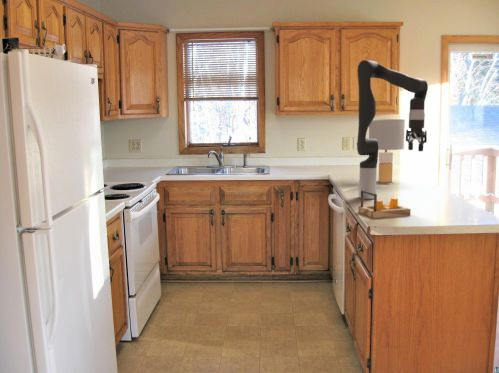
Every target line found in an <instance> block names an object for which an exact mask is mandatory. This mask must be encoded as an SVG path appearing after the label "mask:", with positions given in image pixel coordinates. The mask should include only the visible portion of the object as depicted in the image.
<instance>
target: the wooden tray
mask: <svg viewBox="0 0 499 373" xmlns="http://www.w3.org/2000/svg"><path fill="white" fill-rule="evenodd" d="M363 193H366V194H369V195H373V196H374V199H373V204H371V205H368V204H367V205H364V199H363ZM377 200H378V194H377V193H376V194H373V193H370V192H367V191H364V190H361V198H360V205H359V206H358V213H360V214H362V215H365V216H367V217H370V218H372V217H373V219H381V218H382V217H385V218H393V217H394V218H396V217H404V216H405V217H407V216H411V210H412V209H411V208H408V207H405V206H403V205H398V209H387V210H376V208H377ZM388 204H389V203H383V206H385V205H388ZM382 219H383V218H382Z"/></svg>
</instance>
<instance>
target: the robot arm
mask: <svg viewBox="0 0 499 373" xmlns="http://www.w3.org/2000/svg"><path fill="white" fill-rule="evenodd" d="M372 78H374V79H380V80H384V81H386V82H387V83H389V84H391V85H393V86H395V87H398V88H402V89H403V90H405V91H408V92H410V93H413V94H414V95H413V97H412V98H410V101H409V113H408V128H409V129H406V130H405V131H406V132H405V141H406V142H407V143H408V144H407V145H408V147H407V148H408V149H407V150H409V151H413V149H414V141H415V140H416V141H417V142H418V149H417V150H418V152H423V151H424V144H426V143H427V142H428V141H427V140H428V138H427V130H423V129H424V128H425V118H426V117H425V116H426V114H425V101H426V97H427V94H428V89H429V85H428V82H427V80H425V79H424V78H415V77H411V75H409V74H406V73H403V72H400V71H397V70H393V69H391V68H388V67H386V66H383V65H382V64H380V63H378V62H377V61H374V60H369V59H364V60H363V59H362V60H361V61H360V62H359V63H358V65H357V80H358V131H357V132H358V133H357V141H356V149H357V153H358V155H360V156H368V157H367V158H366V159H364V160H362V161H360V162H359V180H358V197H359V199H361V190H364V191H367V192H370V193H373V194H377V167H378V163H379V150H378V148H379V147H378V141H377V139H374V138H369V137H368V138H367V132H368V130H369V125H370V124H371V122H372V120H375V119H374V118H375V116H376V112H377V102H376V98H375V95H374V92H373V90H372V87H371V79H372ZM363 200H374V196H373V195H369V194H366V193H363Z"/></svg>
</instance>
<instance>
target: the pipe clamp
mask: <svg viewBox="0 0 499 373" xmlns="http://www.w3.org/2000/svg"><path fill="white" fill-rule="evenodd" d="M383 204H384V202H383V200H379V199H377V208H376V210H387V209H398V204H399V200H398V198H396V197H392V198H390V202H389V203H387V204H388V205H385V206H383Z"/></svg>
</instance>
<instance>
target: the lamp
mask: <svg viewBox="0 0 499 373" xmlns="http://www.w3.org/2000/svg"><path fill="white" fill-rule="evenodd" d="M405 122H406V120H405V119H399V118H398V119H396V118H395V119H394V118H393V119H391V118H387V119H386V118H385V119H383V118H382V119H377V118H376V119H373V120H372V122H371V124H370V125H369V127H368V139H369V138H374V139H377V141H378V147H379V148H378V178H377V179H378V183H380V184H387V183H388V184H389V183H393V163H394V162H393V159H394V157H393V156H394V153H393V152H392V151H397V150H398V151H399V150H404V149H405V127H406V126H405V124H406V123H405Z"/></svg>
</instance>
